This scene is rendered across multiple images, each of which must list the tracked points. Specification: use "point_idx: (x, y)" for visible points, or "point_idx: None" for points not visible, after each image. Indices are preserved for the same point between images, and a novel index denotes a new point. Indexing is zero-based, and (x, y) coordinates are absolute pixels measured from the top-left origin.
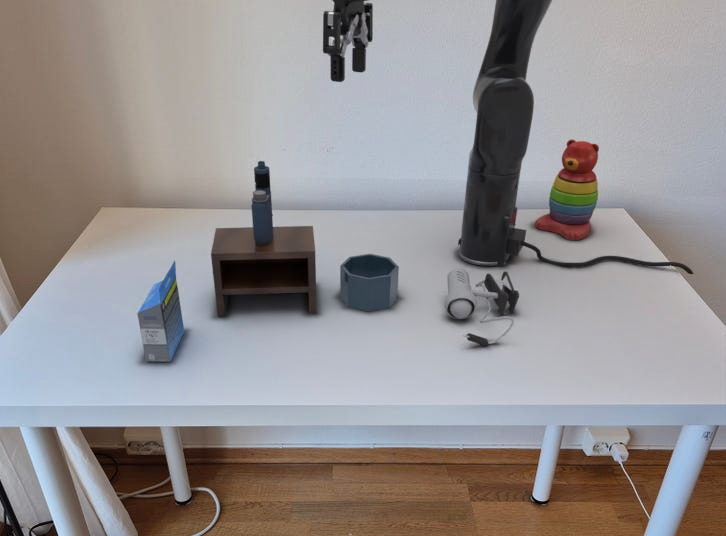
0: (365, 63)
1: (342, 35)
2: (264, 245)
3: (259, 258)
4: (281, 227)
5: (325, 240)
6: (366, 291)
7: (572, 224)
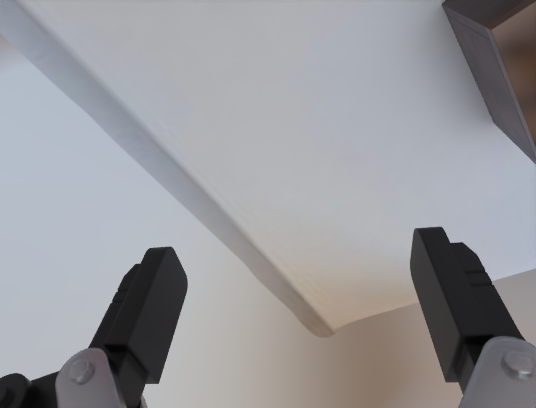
0: (139, 273)
1: None
2: None
3: None
4: (517, 82)
5: (269, 96)
6: None
7: None
